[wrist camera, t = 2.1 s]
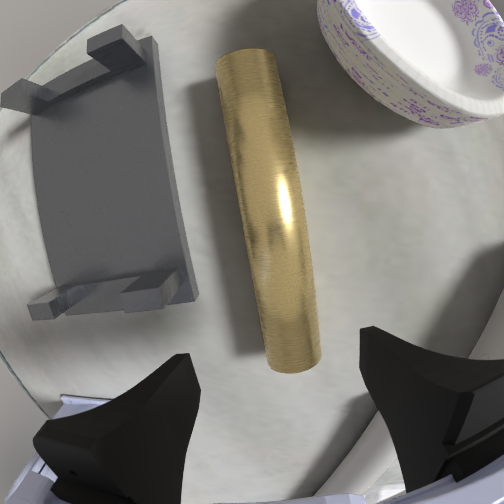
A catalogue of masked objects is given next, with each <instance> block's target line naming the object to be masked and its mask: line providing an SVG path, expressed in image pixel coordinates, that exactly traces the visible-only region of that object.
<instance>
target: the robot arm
mask: <svg viewBox="0 0 504 504" xmlns="http://www.w3.org/2000/svg"><path fill="white" fill-rule="evenodd" d="M359 368H360V371H361V374H362V377H363V380H364V382H365V385H366V387H367V389H368V391H369V393H370V395H371V397H372V399H373V400H374V402H375V404H376V406H377V408H378V410H379V412H380V414H381V415H382V417H383V419H384V421H385V423H386V425H387V428H388V430H389V433H390V436H391V438H392V441H393V444H394V447H395V450H396V454H397V457H398V460H399V464H400V467H401V471H402V475H403V479H404V483H405V488H406V493H407V494H405V495H401V496H399V497H396V498H393V499H390V500H387V501H384V502H380V503H377V504H504V359H498V360H476V359H465V358H458V357H452V356H448V355H443V354H440V353H436V352H432V351H429V350H426V349H423V348H421V347H418V346H416V345H413V344H411V343H409V342H406V341H404V340H402V339H400V338H398V337H396V336H394V335H392V334H390V333H388V332H386V331H384V330H381V329H379V328H377V327H375V326H370V327H366V328H361V329H360V362H359ZM200 394H201V389H200V386H199V382H198V379H197V376H196V373H195V370H194V367H193V364H192V360H191V357H190V354H189V353H185V354H176V355H174V356H173V357H171V358H170V359H169V360H167V361H166V362H165V363H164V364H162V365H161V366H160V367H159V368H158V369H156V370H155V371H154V372H153V373H151V374H150V375H149V376H148V377H146V378H145V379H144V380H142V381H141V382H140V383H138V384H137V385H135V386H134V387H133V388H131V389H130V390H128V391H127V392H125V393H123V394H122V395H120V396H118V397H116V398H115V399H113V400H103V399H91V398H82V397H73V396H65V395H63V396H62V397H61V400H62V402H63V403H64V404H63V406H62V407H61V408H60V409H59V410H58V412H57V413H56V414H55V415H54V417H53V418H52V419H51V420H47V421H46V422H45V424H44V425H43V426H42V427H41V429H40V430H39V431H38V432H37V434H36V435H35V436H34V438H33V444H34V447H35V449H36V451H37V453H35V454H34V455H33V456H32V458H31V459H30V460H29V462H28V463H27V464H26V466H25V467H24V469H23V470H22V471H21V473H20V474H19V476H18V477H17V478H16V480H15V481H14V483H13V484H12V487H11V488H10V491H9V493H8V494H7V496H6V498H5V499H4V502H5V504H181V491H182V480H183V471H184V464H185V457H186V452H187V448H188V444H189V441H190V437H191V434H192V431H193V427H194V424H195V420H196V417H197V413H198V409H199V403H200ZM215 504H367V502H366V500H365V498H364V496H361V495H357V494H351V493H346V492H344V493H335V494H324V495H319V496H313V497H306V498H299V499H291V500H282V501H271V502H256V503H215Z"/></svg>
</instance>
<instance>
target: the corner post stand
mask: <svg viewBox="0 0 504 504" xmlns="http://www.w3.org/2000/svg"><path fill="white" fill-rule="evenodd" d="M87 54H88V55H90V56H91V57H92V58H94V59H92V60H89V61H87V62H85V63H83V64H81V65H79V66H77V67H75V68H73V69H71V70H69V71H68V72H66V73H64V74H62V75H60V76H58V77H57V78H55V79H53V80H51V81H50V82H48V83H46V84H45V85H43V86H41V85H38V84H36V83H33V82H30V81H28V80H25V79H23V78H22V79H20V80H19V81H18V82H16V83H15V84H13V85H12V86H11V87H9V88H8V89H7V90H5V91H4V92H3V93H2V94H1V105H0V107H3V108H7V109H12V110H16V111H20V112H24V113H28V114H31V136H32V156H33V169H34V179H35V187H36V195H37V202H38V209H39V215H40V220H41V226H42V231H43V236H44V241H45V245H46V250H47V254H48V258H49V262H50V266H51V270H52V273H53V277H54V280H55V284H56V287H57V288H56V289H54V290H52V291H50V292H49V293H47V294H45V295H43V296H41V297H40V298H38V299H36V300H34V301H33V302H31V303H29V304H28V305H27V306H28V309H29V312H30V315H31V318H32V320H48V319H55V318H56V317H58V316H59V315H61V314H62V313H64V312H65V315H78V314H89V313H100V312H110V311H119V310H124V311H125V313H130V312H139V311H148V310H157V309H164V308H165V307H166V305H171V304H179V303H187V302H194V301H195V300H196V299H197V297H198V295H199V292H198V288H197V284H196V279H195V275H194V270H193V266H192V261H191V257H190V252H189V248H188V243H187V238H186V233H185V228H184V223H183V218H182V213H181V208H180V202H179V197H178V191H177V186H176V180H175V174H174V168H173V162H172V156H171V150H170V143H169V136H168V130H167V122H166V115H165V108H164V100H163V91H162V83H161V73H160V64H159V53H158V44H157V42H156V41H155V40H154V38H153V37H152V36H150V37H147V38H144V39H141V40H138V41H137V40H136V39H135V38H134V37H133V36H132V35H131V33H130V32H129V31H128V30H127V29H126V28H125V27H124V26H123V24H121V25H119V26H116V27H114V28H112V29H109V30H107V31H105V32H102V33H100V34H98V35H96V36H94V37H92V38H90V39H88V40H87Z"/></svg>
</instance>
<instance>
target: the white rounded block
mask: <svg viewBox="0 0 504 504" xmlns="http://www.w3.org/2000/svg"><path fill="white" fill-rule="evenodd" d="M468 359H476V360H498V359H504V288H503V290H502V293H501V295H500V297H499V300H498V302H497V304H496V306H495V308H494V310H493V313H492V315H491V317H490V319H489V321H488V323H487V325H486V327H485V329H484V331H483V332H482V334H481V336H480V338H479V340H478V342H477V343H476V345H475V347H474V349H473V350H472V352H471V354H470V356H469V357H468Z"/></svg>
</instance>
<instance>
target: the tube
mask: <svg viewBox="0 0 504 504" xmlns="http://www.w3.org/2000/svg"><path fill="white" fill-rule="evenodd" d="M396 458H397V454H396V450H395V447H394V444H393V441H392V438H391V436H390V433H389V430H388V428H387V425H386V423H385V421H384V419H383V417H382V415H381V414H380V412H379V410H378V411H377V413H376V414H375V416H374V418H373V419H372V421H371V422H370V424H369V425H368V427H367V428H366V430H365V431H364V433H363V434H362V435H361V437H360V438H359V440H358V441H357V443H356V444H355V445H354V447H353V448H352V449H351V451H350V452H349V453H348V455H347V456H346V457H345V459H344V460H343V461H342V463H341V464H340V465H339V466H338V468H337V469H336V470H335V471H334V473H333V474H332V475H331V476H330V477H329V479H328V480H327V481H326V482H325V483H324V484H323V486H322V487H321V488H320V489H319V490H318V491H317V492H316V493H315V495H314V496H319V495H324V494H335V493H344V492H346V493H351V494H357V495H362V494H363V493H364V492H365V491H366V490H367V489H368V488H369V487H370V486H371V485H372V484H373V483H374V482H375V481H376V480H377V479H378V478H379V477H380V475H381V474H382V473H383V472H384V471H385V470H386V469H387V468H388V467H389V466H390V464H391V463H392V462H393V461H394V460H395V459H396Z"/></svg>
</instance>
